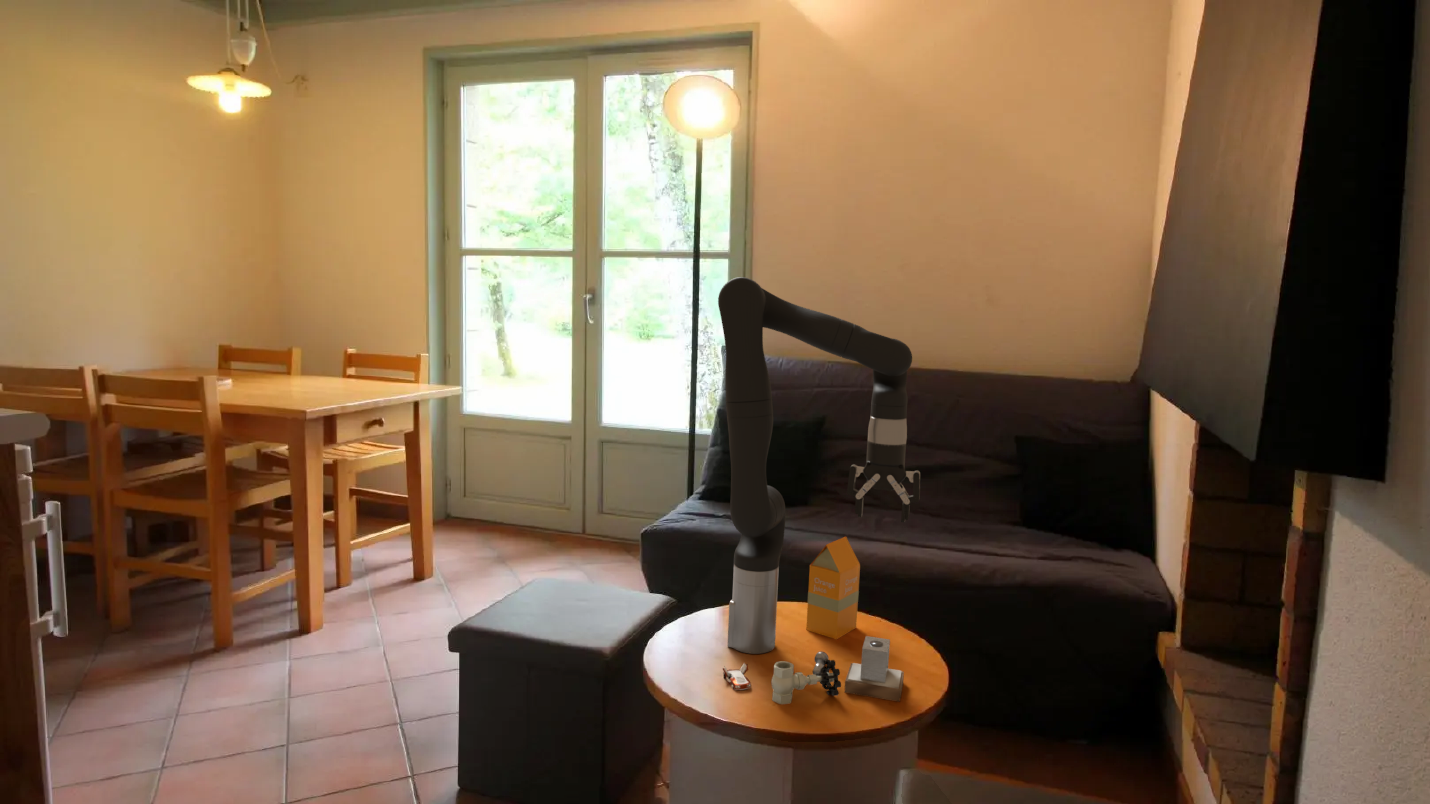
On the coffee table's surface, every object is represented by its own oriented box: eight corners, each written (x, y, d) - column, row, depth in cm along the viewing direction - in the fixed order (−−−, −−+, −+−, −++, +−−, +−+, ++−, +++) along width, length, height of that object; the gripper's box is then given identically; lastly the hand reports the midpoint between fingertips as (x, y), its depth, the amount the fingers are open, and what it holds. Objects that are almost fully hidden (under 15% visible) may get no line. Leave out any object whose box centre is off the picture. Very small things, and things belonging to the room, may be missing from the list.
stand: (844, 692, 156) (845, 679, 156) (850, 673, 164) (851, 661, 163) (899, 701, 153) (900, 688, 153) (903, 682, 161) (904, 670, 160)
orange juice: (856, 627, 187) (862, 539, 184) (836, 639, 180) (842, 548, 177) (826, 618, 191) (831, 532, 189) (805, 629, 184) (810, 540, 182)
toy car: (742, 671, 163) (742, 656, 163) (756, 691, 156) (757, 674, 155) (716, 674, 162) (716, 659, 161) (729, 694, 154) (730, 677, 154)
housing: (860, 679, 156) (862, 647, 155) (863, 665, 162) (865, 635, 161) (885, 683, 155) (887, 651, 154) (887, 669, 160) (890, 638, 160)
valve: (778, 710, 149) (840, 702, 152) (779, 674, 148) (842, 667, 151) (764, 692, 155) (824, 685, 158) (766, 658, 154) (826, 652, 158)
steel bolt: (823, 677, 162) (823, 664, 161) (809, 675, 162) (810, 662, 162) (828, 664, 167) (828, 652, 167) (815, 662, 168) (815, 650, 168)
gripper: (848, 439, 167) (843, 519, 169) (922, 446, 163) (916, 527, 165) (853, 433, 174) (848, 510, 176) (924, 439, 170) (918, 518, 172)
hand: (881, 518), depth 170 cm, fingers open, 8 cm apart
